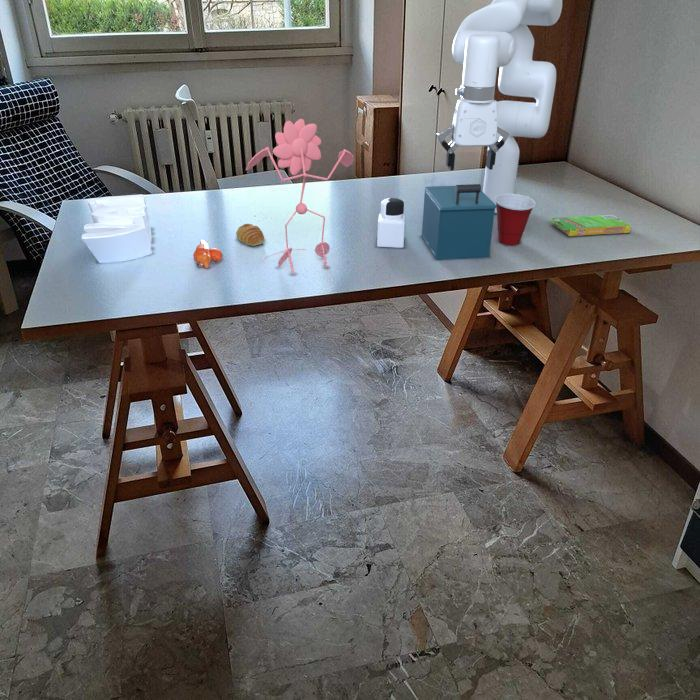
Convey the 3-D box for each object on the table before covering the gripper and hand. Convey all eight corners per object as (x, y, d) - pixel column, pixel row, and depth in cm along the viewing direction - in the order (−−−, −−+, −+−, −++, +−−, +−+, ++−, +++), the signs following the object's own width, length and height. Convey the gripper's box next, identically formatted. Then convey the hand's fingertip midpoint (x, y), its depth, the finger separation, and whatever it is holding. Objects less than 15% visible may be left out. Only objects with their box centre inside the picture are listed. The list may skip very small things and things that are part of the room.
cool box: (489, 257, 172) (495, 207, 165) (436, 259, 170) (440, 209, 164) (470, 234, 186) (475, 188, 179) (421, 236, 184) (424, 189, 178)
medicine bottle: (404, 238, 183) (406, 196, 177) (403, 248, 177) (405, 204, 171) (378, 237, 183) (379, 195, 177) (376, 247, 177) (378, 203, 171)
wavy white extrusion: (150, 267, 165) (144, 226, 159) (80, 271, 162) (71, 230, 156) (156, 220, 194) (151, 184, 189) (97, 223, 191) (90, 187, 186)
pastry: (270, 244, 178) (270, 231, 176) (247, 249, 175) (246, 235, 173) (256, 233, 185) (255, 220, 183) (233, 238, 182) (232, 225, 180)
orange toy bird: (193, 233, 169) (196, 250, 159) (222, 239, 172) (227, 257, 162) (189, 251, 171) (192, 269, 161) (217, 257, 174) (222, 275, 164)
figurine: (358, 263, 168) (361, 120, 150) (263, 282, 157) (253, 130, 140) (331, 243, 180) (331, 108, 162) (241, 259, 169) (230, 117, 151)
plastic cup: (506, 252, 175) (512, 208, 169) (481, 238, 183) (486, 196, 177) (538, 245, 179) (545, 202, 173) (512, 232, 188) (518, 191, 182)
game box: (628, 235, 188) (562, 236, 184) (611, 224, 197) (547, 225, 193) (631, 225, 187) (564, 226, 183) (613, 214, 195) (549, 214, 191)
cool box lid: (496, 208, 165) (499, 186, 162) (441, 210, 163) (442, 188, 160) (475, 187, 179) (477, 167, 177) (424, 189, 178) (426, 168, 175)
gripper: (445, 97, 148) (438, 173, 156) (519, 96, 150) (509, 172, 158) (436, 91, 154) (431, 165, 163) (508, 91, 156) (499, 164, 165)
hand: (469, 168), depth 160 cm, fingers open, 9 cm apart
